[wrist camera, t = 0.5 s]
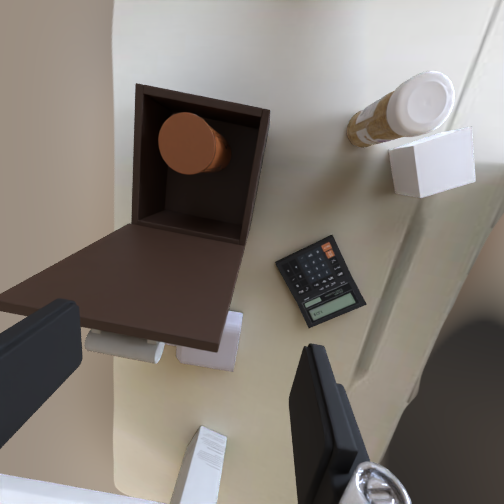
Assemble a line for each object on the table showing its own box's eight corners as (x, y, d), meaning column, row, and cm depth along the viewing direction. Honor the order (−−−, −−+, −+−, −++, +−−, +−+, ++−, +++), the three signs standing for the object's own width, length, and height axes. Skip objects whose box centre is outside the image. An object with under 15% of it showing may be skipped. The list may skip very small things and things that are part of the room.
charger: (156, 296, 42) (243, 310, 42) (154, 340, 45) (236, 354, 45) (143, 311, 38) (241, 327, 38) (142, 359, 40) (233, 375, 40)
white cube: (435, 133, 32) (472, 125, 26) (440, 179, 34) (476, 181, 28) (387, 150, 33) (413, 145, 27) (395, 193, 35) (420, 198, 29)
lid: (-11, 299, 14) (7, 358, 16) (219, 343, 15) (210, 398, 16) (128, 223, 29) (129, 260, 30) (245, 245, 29) (238, 281, 31)
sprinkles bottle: (350, 153, 33) (402, 143, 21) (342, 117, 32) (391, 83, 19) (385, 139, 33) (461, 120, 20) (378, 103, 31) (453, 57, 19)
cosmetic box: (211, 459, 54) (190, 567, 39) (183, 447, 53) (152, 553, 39) (228, 435, 52) (213, 542, 37) (200, 423, 51) (172, 526, 36)
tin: (196, 128, 33) (159, 106, 22) (235, 135, 33) (218, 118, 22) (192, 169, 34) (156, 168, 23) (228, 176, 34) (210, 179, 23)
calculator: (331, 234, 37) (337, 240, 34) (360, 296, 40) (367, 306, 37) (275, 262, 39) (276, 269, 36) (307, 319, 42) (309, 330, 39)
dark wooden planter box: (168, 104, 33) (135, 82, 24) (269, 124, 33) (270, 109, 25) (161, 213, 37) (131, 225, 29) (249, 230, 38) (244, 247, 29)
